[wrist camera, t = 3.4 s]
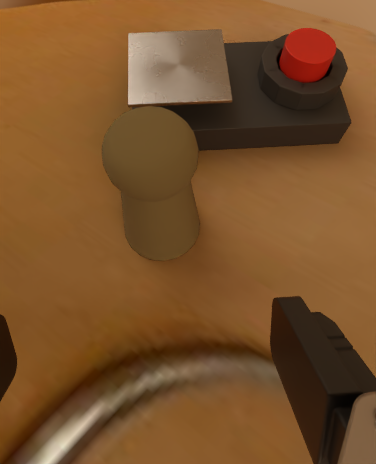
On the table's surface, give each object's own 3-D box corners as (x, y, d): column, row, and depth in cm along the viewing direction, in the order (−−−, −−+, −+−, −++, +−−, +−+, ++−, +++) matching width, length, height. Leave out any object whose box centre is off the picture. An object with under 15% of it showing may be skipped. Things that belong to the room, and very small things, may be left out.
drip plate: (128, 107, 26) (127, 104, 25) (128, 36, 29) (128, 33, 29) (231, 102, 26) (232, 99, 26) (221, 32, 29) (221, 29, 29)
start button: (283, 84, 27) (290, 64, 25) (275, 50, 29) (281, 28, 27) (332, 82, 27) (342, 61, 26) (321, 48, 29) (329, 26, 27)
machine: (136, 154, 29) (128, 117, 25) (136, 71, 33) (129, 28, 29) (338, 143, 30) (362, 106, 26) (314, 63, 34) (331, 19, 30)
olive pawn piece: (153, 276, 25) (131, 208, 15) (109, 219, 27) (63, 124, 17) (215, 230, 27) (233, 141, 16) (169, 179, 28) (160, 70, 18)
